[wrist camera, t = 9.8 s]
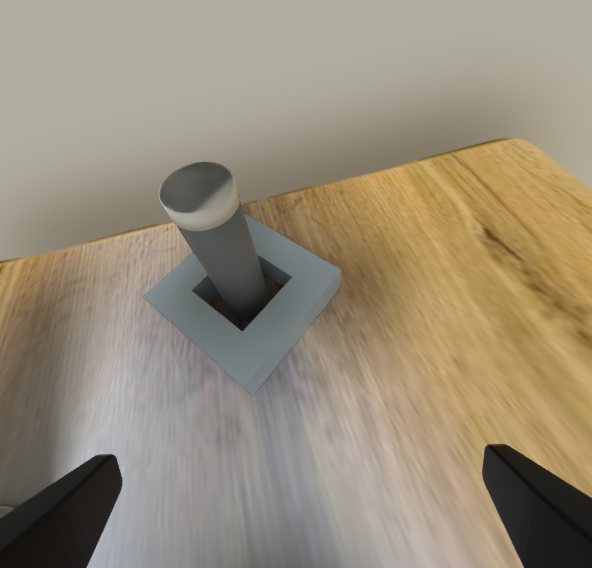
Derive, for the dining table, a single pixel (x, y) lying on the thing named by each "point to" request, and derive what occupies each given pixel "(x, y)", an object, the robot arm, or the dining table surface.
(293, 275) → the socket
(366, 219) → the dining table surface
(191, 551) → the dining table surface
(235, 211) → the peg
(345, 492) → the dining table surface
